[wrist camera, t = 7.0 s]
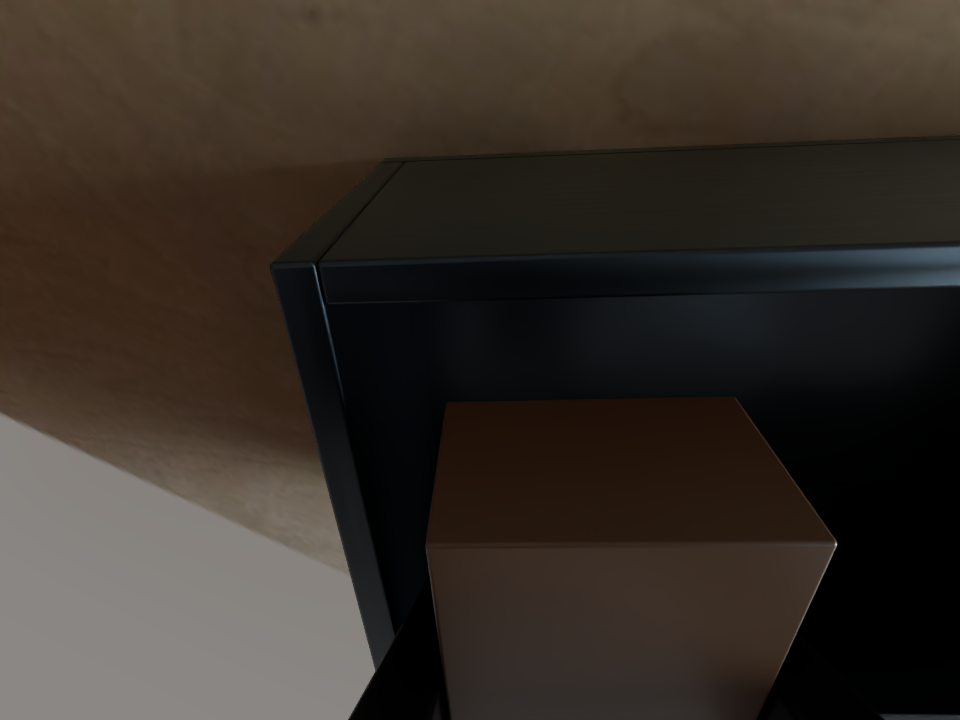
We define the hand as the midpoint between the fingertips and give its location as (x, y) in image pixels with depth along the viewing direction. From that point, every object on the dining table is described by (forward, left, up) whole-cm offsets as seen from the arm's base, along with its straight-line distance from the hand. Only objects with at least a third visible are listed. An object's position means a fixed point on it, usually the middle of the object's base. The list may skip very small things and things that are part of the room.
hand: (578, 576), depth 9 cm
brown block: (0, 0, 0) cm, 0 cm away
